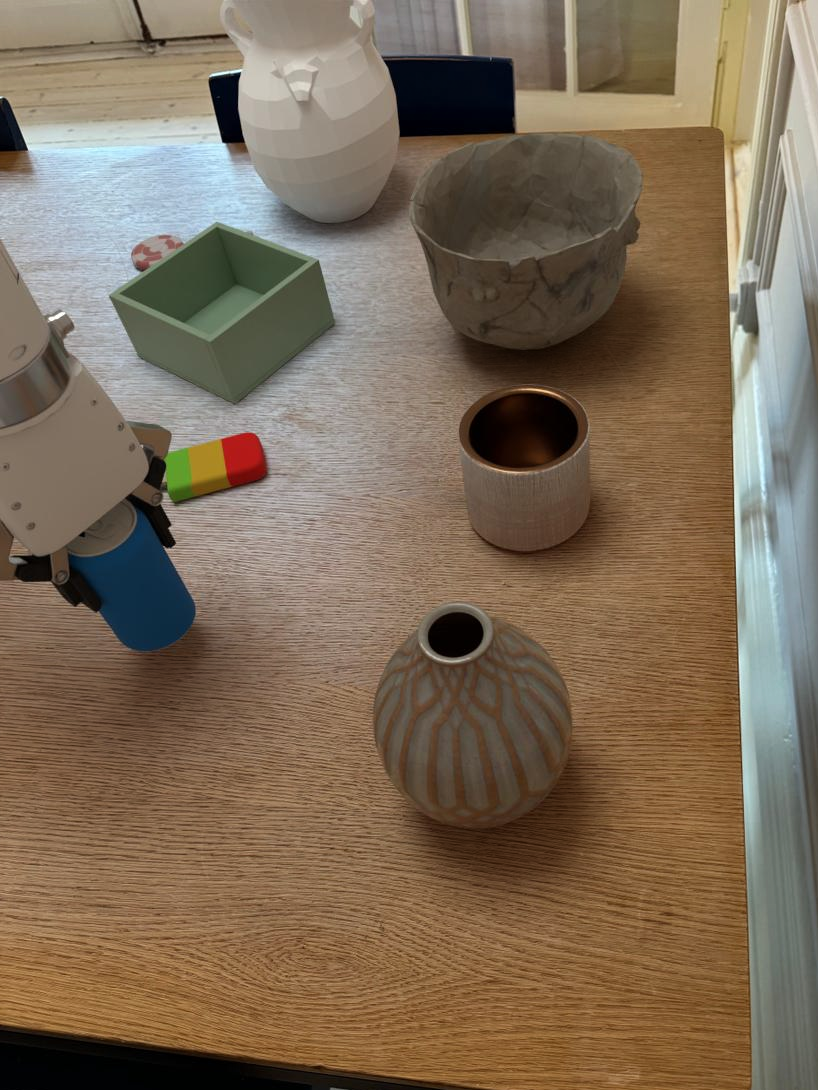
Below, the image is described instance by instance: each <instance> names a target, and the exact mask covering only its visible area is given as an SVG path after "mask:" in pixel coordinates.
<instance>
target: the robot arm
mask: <svg viewBox="0 0 818 1090" xmlns="http://www.w3.org/2000/svg"><path fill="white" fill-rule="evenodd" d="M75 327H76V326H75V324H74V322H73V320H72V319H71V317H70V316H69V315H68V314H67V313H66V312H65V311H63V310H62V309H57V310H55V311H54V312H52V313H51V314H50V313H47V314H45V315H44V314H43V312H42V310H41V309H40V307H39V305H38V304H37V302H36V300H35V298H34V296H33V295H32V293H31V291H30V289H29V287H28V285H27V284H26V282H25V280H24V278H23V276H22V275H21V273H20V270H19V269H18V267H17V266H16V264H15V262H14V260H13V258H12V256H11V254H10V253H9V251H8V250H7V248H6V246H5V244H4V242H3V240H2V238H1V237H0V582H6V581H7V582H13V581H21V582H23V583H43V582H44V583H45V582H48V583H49V582H50V583H51V584H52V585H53V587H54V588H55V589H56V591H57V592H58V594H59V595H60V596H61V597H62V598H63V599H64V600H65V601H66V602H67V603H68V604H70V605H71V606H72V607H74V608H76V607H77V606H79V605H80V604H82V605H84V606H85V607H86V608H87V609H89V610H91V612H94V613H95V614H97V613H99V610H100V609H101V606H102V603H101V602H100V600H99V599H98V598H97V596H96V595H95V593H94V592H93V591H92V589H91V588H90V586H89V585H88V584H87V582H86V581H85V579H84V578H83V577H82V575H81V574H80V573H79V572H77V571H76V570H74V569H73V568H71V567H70V566H69V561H68V551H67V544H68V543H69V542H70V541H72V540H73V539H74V538H75V537H77V536H78V535H79V534H81V533H82V532H83V531H84V530H86V529H87V528H88V527H89V526H91V525H92V524H93V523H94V522H96V521H97V520H98V519H99V518H101V517H102V516H103V515H104V514H106V513H107V512H108V511H109V510H110V509H112V508H113V507H114V506H115V505H117V504H118V503H119V502H120V501H121V500H123V499H126V500H127V501H129V502H130V503H131V504H132V505H134V506H135V507H137V508H139V509H140V510H141V511H142V512H143V513H144V514H145V515H146V517H147V519H148V520H149V522H150V524H151V526H152V528H153V529H154V531H155V533H156V535H157V536H158V538H159V540H160V542H161V544H162V545H163V547H164V548H166V549H172V548H173V547H174V546H176V544H177V542H176V540H175V538H174V536H173V534H172V533H171V531H170V528H171V527H172V523H171V521H170V518H169V517H168V515H167V513H166V511H165V509H164V508H163V506H162V503H163V502H164V493H163V492H162V490H161V488H162V486H163V485H162V481H163V478H164V475H166V463H165V457H167V454H168V453H169V450H170V446H171V442H172V438H173V435H172V432H171V431H170V430H168V429H167V428H165V427H163V426H162V425H159V424H155V423H147V422H141V421H140V422H139V421H131V420H126V418H125V417H124V416H123V414H122V412H121V411H120V410H119V408H118V407H117V405H116V404H115V403H114V402H113V400H112V399H111V397H110V396H109V394H107V392H106V390H104V388H103V386H101V384H100V383H99V382H98V380H97V379H96V378H95V377H94V376H93V374H92V373H91V372H90V371H89V370H88V368H87V367H86V366H85V365H84V364H83V363H82V362H81V361H80V360H79V358H77V357H76V356H75V355H73V354H72V353H71V352H70V351H68V350H67V348H66V346H65V342H64V340H65V339H67V337H68V334H70V333H72V332H73V331H74V330H75ZM14 539H16V541H17V542H19V543H20V545H22V547H24V548H26V549H27V555H26V554H25V555H24V554H23V555H22V554H21V555H20V554H18V555H17V554H16V555H12V556H10V554H11V550H12V547H13V543H14Z"/></svg>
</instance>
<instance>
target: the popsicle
mask: <svg viewBox="0 0 818 1090" xmlns="http://www.w3.org/2000/svg"><path fill="white" fill-rule="evenodd" d="M164 461H165V463H166V471H165V474H164V478H163V481H162V485H161V486H164V485H166V487H167V494H168V496H169V498H170V500H171V502H173V503H176V502H180V501H184V500H188V499H191V498H195V497H199V496H203V495H206V494H211V493H214V492H217V491H222V490H224V489H229V488H232V487H236V486H241V485H243V484H247V483H251V482H254V481H257V480H260V479H262V478H263V477H264V476H266V474H267V462H266V457H265V452H264V448H263V445H262V442H261V440H260V437H259V436H258V435H257V434H256V433H254V432H251V431H250V432H242V433H237V434H235V435H230V436H227V437H222V438H219V439H216V440H212V441H208V442H204V443H200V444H197V445H193V446H189V447H185V448H181V449H177V450H174V451H170V452H169V451H168V454H167V457H165V460H164Z"/></svg>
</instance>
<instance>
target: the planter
mask: <svg viewBox="0 0 818 1090" xmlns="http://www.w3.org/2000/svg"><path fill="white" fill-rule="evenodd" d="M590 425H591V423H590V418H589V415H588V413H587V411H586V409H585V408H584V406H583V405H582V404H581V403H580V401H578V400H577V399H576V398H575V397H573V396H572V395H570V394H569V393H567V392H565V391H563V390H560V389H558V388H555V387H551V386H547V385H542V384H534V383H533V384H529V383H528V384H515V385H509V386H505V387H501V388H498V389H495V390H493V391H490V392H488V393H486V394H484V395H483V396H481V397H479V398H477V399H476V400H475V401H473V402H472V403H471V404H470V405H469V406H468V407H467V409H466V410H465V411H464V412H463V414H462V415H461V418H460V419H459V421H458V425H457V431H456V432H457V434H456V435H457V444H458V451H459V459H460V465H461V474H462V482H463V489H464V497H465V498H464V499H465V506H466V512H467V516H468V519H469V522H470V523H471V526H472V528H473V529H474V531H475V532H476V533H477V534H478V535H479V536H480V537H481V538H482V539H484V540H485V541H487V542H488V543H489V544H492V545H494V546H496V547H499V548H501V549H503V550H504V549H506V550H509V551H515V552H535V551H542V550H546V549H550V548H553V547H555V546H558V545H560V544H562V543H564V542H566V541H568V540H569V539H570V538H571V537H573V536H574V535H575V534H577V532H578V531H579V530H580V529H581V528H582V526H583V525H584V523H585V522H586V520H587V518H588V514H589V511H590V506H591V426H590Z"/></svg>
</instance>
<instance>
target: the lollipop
mask: <svg viewBox="0 0 818 1090" xmlns="http://www.w3.org/2000/svg"><path fill="white" fill-rule="evenodd" d="M245 232H246V233H249V234H251V235H254V231H253V230H248V231H245ZM183 244H185V242H184V241H183V240H182V239H181V238H180V237H178V236H177V235H172V234H160V235H155V236H151V237H149V238H145V239H143V240H142V241H140V242H139V243H138V244H136V246H134V248H132V251H131V253H130V260H131V262H132V263H133V265H134V266H135V267H136V268H137V269H138V270H141V271H145V270H146V269H148V268H149V267H151V266H152V265H154V264H155V263H157V262H158V261H160V260H161V259H163V258H164V257H165V256H167V255H168V254H170V253H171V252H173V251H174V250H176V249H177V248H179V247H180V246H182V245H183Z"/></svg>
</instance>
